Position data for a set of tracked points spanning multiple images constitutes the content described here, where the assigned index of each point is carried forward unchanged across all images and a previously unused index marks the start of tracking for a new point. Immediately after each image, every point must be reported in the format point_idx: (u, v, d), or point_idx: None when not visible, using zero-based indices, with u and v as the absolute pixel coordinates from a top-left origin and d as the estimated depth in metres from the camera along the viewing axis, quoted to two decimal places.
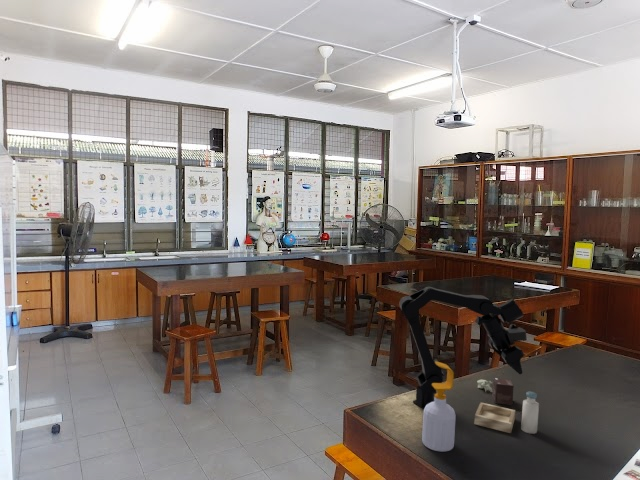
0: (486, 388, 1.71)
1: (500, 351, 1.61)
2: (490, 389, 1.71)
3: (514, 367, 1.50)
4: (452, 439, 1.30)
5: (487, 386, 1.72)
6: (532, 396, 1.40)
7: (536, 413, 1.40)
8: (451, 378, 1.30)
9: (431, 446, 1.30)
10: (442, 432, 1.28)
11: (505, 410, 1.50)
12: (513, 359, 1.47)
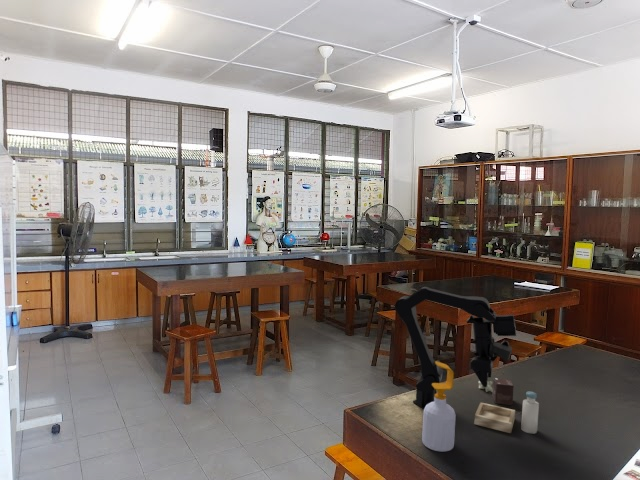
0: (487, 388, 1.71)
1: None
2: (491, 389, 1.70)
3: (479, 377, 1.45)
4: (452, 439, 1.30)
5: (488, 386, 1.71)
6: (532, 396, 1.41)
7: (536, 413, 1.40)
8: (451, 378, 1.30)
9: (431, 446, 1.30)
10: (442, 432, 1.28)
11: (505, 410, 1.50)
12: (477, 367, 1.42)
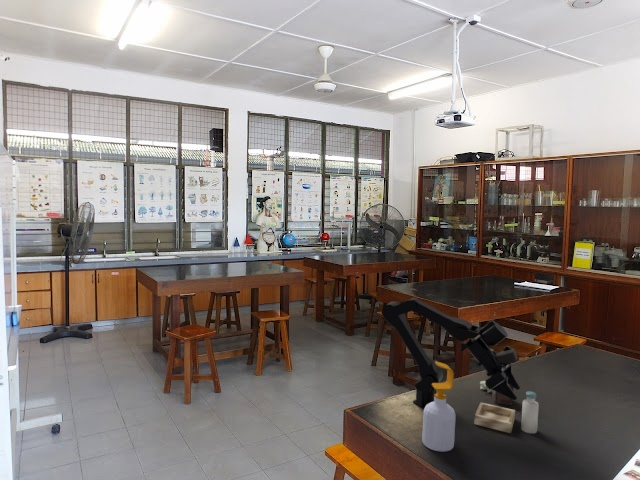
0: None
1: None
2: None
3: (504, 393, 1.40)
4: (452, 439, 1.30)
5: None
6: (532, 396, 1.40)
7: (536, 413, 1.40)
8: (451, 378, 1.30)
9: (431, 446, 1.30)
10: (442, 432, 1.28)
11: (505, 410, 1.50)
12: (493, 384, 1.38)
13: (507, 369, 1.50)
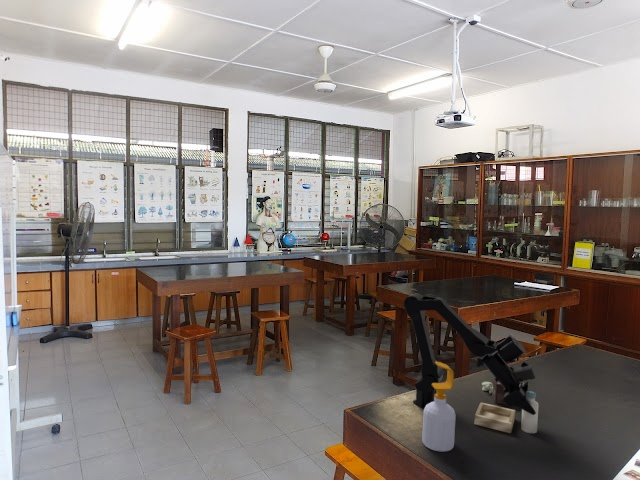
0: (491, 390, 1.69)
1: None
2: None
3: (523, 407, 1.40)
4: (452, 439, 1.30)
5: (492, 388, 1.70)
6: (531, 396, 1.41)
7: (536, 413, 1.40)
8: (451, 378, 1.30)
9: (431, 446, 1.30)
10: (442, 432, 1.28)
11: (505, 410, 1.50)
12: (512, 402, 1.36)
13: (523, 387, 1.46)
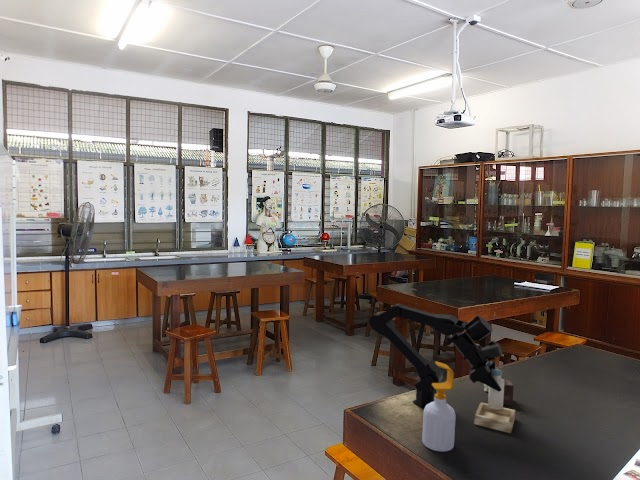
0: None
1: None
2: None
3: (489, 384, 1.44)
4: (452, 439, 1.30)
5: None
6: (497, 373, 1.45)
7: (501, 389, 1.45)
8: (451, 378, 1.30)
9: (431, 446, 1.30)
10: (442, 432, 1.28)
11: (505, 410, 1.50)
12: (477, 378, 1.41)
13: (491, 365, 1.50)
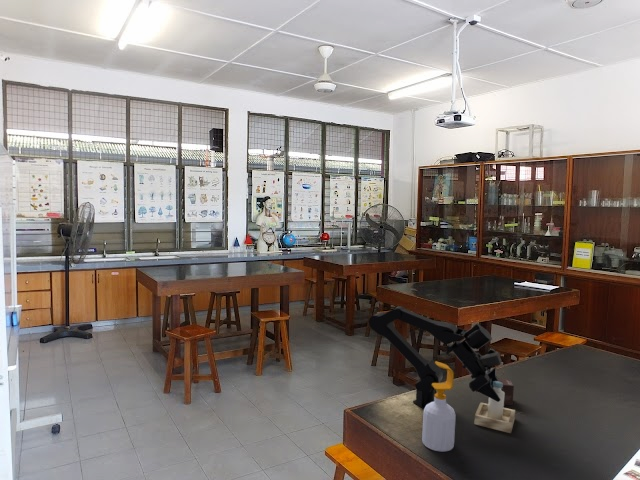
0: None
1: None
2: None
3: (488, 394, 1.43)
4: (452, 439, 1.30)
5: None
6: (498, 385, 1.45)
7: (501, 402, 1.45)
8: (451, 378, 1.30)
9: (431, 446, 1.30)
10: (442, 432, 1.28)
11: (505, 410, 1.50)
12: (477, 387, 1.41)
13: (491, 372, 1.52)
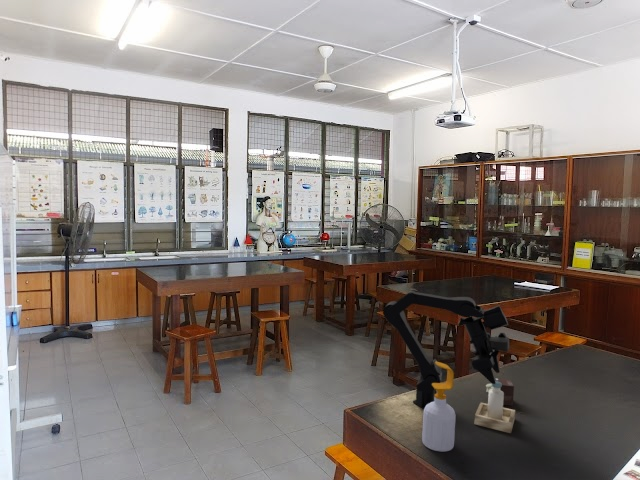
0: None
1: None
2: None
3: (485, 375, 1.46)
4: (452, 439, 1.30)
5: None
6: (497, 385, 1.45)
7: (501, 402, 1.45)
8: (451, 378, 1.30)
9: (431, 446, 1.30)
10: (442, 432, 1.28)
11: (505, 410, 1.50)
12: (479, 366, 1.43)
13: (494, 352, 1.54)
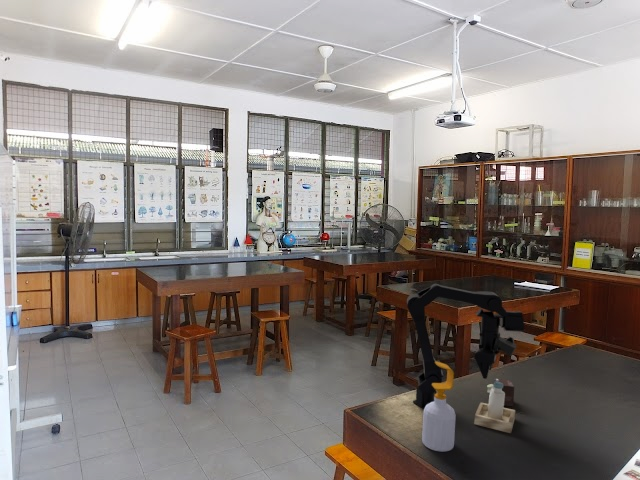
0: None
1: None
2: None
3: (481, 368, 1.50)
4: (452, 439, 1.30)
5: None
6: (498, 386, 1.45)
7: (502, 402, 1.45)
8: (451, 378, 1.30)
9: (431, 446, 1.30)
10: (442, 432, 1.28)
11: (505, 410, 1.50)
12: (481, 359, 1.46)
13: (494, 351, 1.58)
